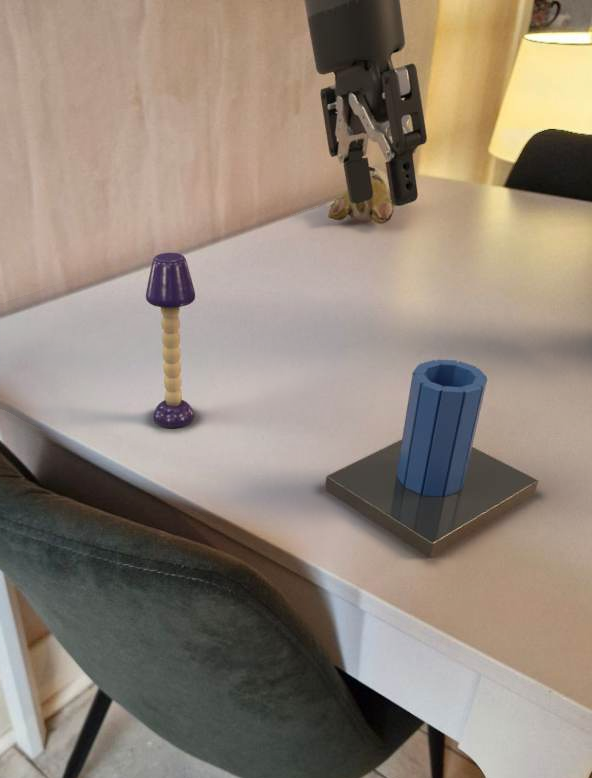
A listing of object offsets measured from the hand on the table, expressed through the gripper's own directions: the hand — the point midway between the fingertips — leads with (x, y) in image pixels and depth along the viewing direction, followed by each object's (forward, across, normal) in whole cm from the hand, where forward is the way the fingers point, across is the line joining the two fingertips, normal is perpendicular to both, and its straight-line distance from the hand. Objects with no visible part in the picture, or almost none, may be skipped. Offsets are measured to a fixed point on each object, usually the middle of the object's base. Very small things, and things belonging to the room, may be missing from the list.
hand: (382, 202), depth 70 cm
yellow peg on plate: (+23, -13, +6) cm, 27 cm away
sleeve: (+21, -14, +6) cm, 26 cm away
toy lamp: (+15, +6, +24) cm, 29 cm away
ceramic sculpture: (+12, +60, -26) cm, 67 cm away
